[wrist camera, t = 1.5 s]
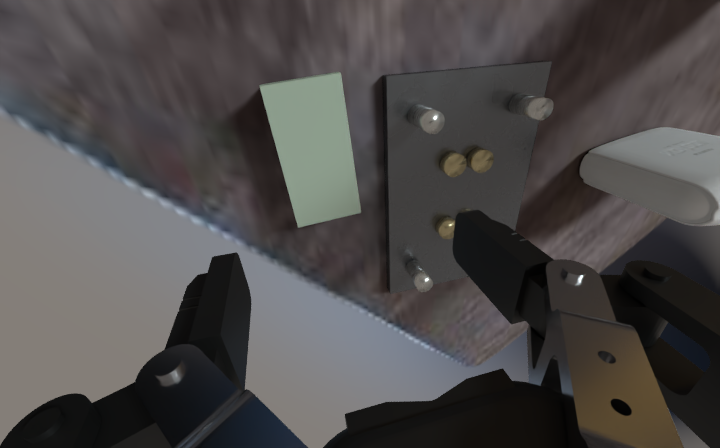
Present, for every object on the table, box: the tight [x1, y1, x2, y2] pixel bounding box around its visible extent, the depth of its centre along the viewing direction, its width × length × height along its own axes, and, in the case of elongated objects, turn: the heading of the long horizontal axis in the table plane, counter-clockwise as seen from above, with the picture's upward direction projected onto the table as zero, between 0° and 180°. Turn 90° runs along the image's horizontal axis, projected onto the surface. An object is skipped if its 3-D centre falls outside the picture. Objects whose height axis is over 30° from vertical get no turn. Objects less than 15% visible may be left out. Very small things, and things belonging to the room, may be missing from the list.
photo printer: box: [580, 127, 720, 226], centre depth 28 cm, size 10×4×12 cm, turn 102°
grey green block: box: [260, 72, 361, 228], centre depth 23 cm, size 5×10×4 cm, turn 8°
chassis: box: [383, 61, 554, 294], centre depth 28 cm, size 14×21×4 cm, turn 3°
